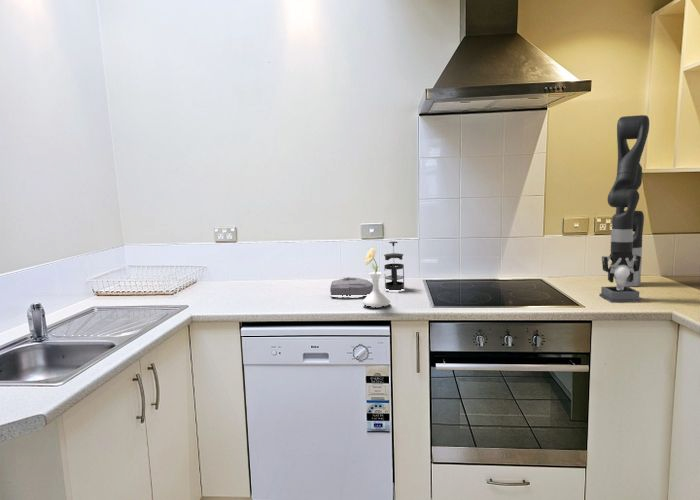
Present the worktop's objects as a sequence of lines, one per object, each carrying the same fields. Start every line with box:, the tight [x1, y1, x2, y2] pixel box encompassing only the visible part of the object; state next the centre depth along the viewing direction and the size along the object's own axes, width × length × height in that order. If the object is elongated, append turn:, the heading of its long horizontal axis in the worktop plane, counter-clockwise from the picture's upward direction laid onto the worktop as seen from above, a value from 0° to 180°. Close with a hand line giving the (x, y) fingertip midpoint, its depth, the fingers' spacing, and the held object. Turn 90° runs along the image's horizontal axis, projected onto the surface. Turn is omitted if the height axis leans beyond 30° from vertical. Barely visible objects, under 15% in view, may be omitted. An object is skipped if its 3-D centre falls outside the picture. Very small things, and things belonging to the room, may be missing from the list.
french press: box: [383, 241, 405, 290], centre depth 220 cm, size 12×9×23 cm
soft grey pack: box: [329, 276, 373, 296], centre depth 214 cm, size 15×8×20 cm
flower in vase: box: [362, 246, 391, 308], centre depth 191 cm, size 13×11×25 cm
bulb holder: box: [598, 286, 642, 304], centre depth 188 cm, size 11×11×4 cm
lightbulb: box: [613, 265, 630, 291], centre depth 187 cm, size 6×6×11 cm
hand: (620, 281), depth 187 cm, fingers closed on lightbulb, 6 cm apart
